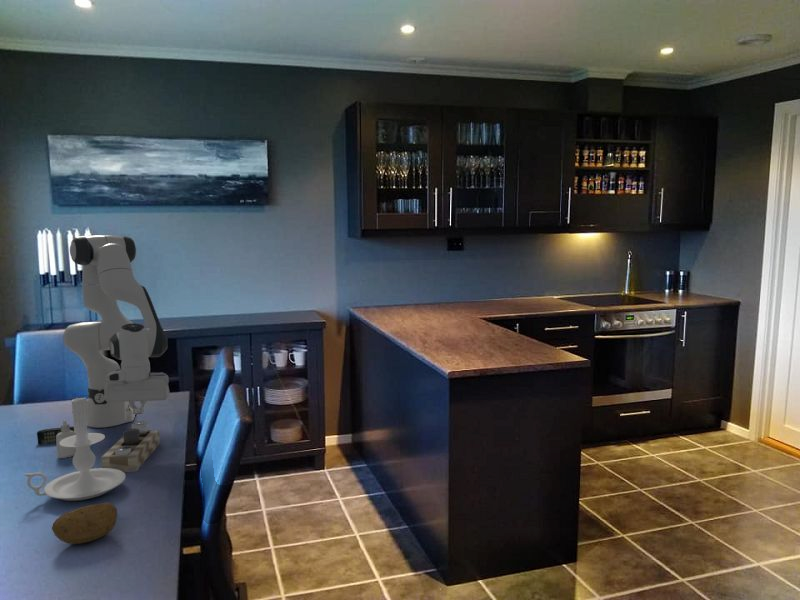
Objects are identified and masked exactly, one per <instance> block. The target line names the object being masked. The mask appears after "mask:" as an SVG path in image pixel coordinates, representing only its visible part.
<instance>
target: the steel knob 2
mask: <svg viewBox="0 0 800 600" xmlns="http://www.w3.org/2000/svg"><path fill="white" fill-rule="evenodd" d="M147 423H148V422H147V421H146V420H137V421H134V422H133V421H132V422H131V429H134V428H135V429H139V437H146V436H147V430H148V427H147V426H148V425H147Z"/></svg>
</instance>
